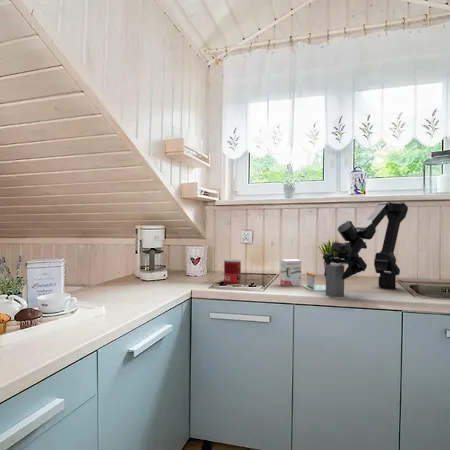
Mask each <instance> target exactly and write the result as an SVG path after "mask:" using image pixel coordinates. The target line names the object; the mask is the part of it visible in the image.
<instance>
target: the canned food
mask: <svg viewBox="0 0 450 450" xmlns="http://www.w3.org/2000/svg"><path fill="white" fill-rule="evenodd" d="M223 262H224V263H223V265H224V266H223V268H224V269H223V271H224V273H223V275H224V276H223V279H224V283H225V284H230V285H237V284H240V283H241V281H242V279H241V275H242V272H241V271H242V269H241V268H242V267H241V265H242V262H241V259H236V258H235V259H232V258H231V259H224V261H223Z"/></svg>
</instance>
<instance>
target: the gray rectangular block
mask: <svg viewBox="0 0 450 450" xmlns="http://www.w3.org/2000/svg"><path fill="white" fill-rule="evenodd" d="M325 268H326V277H325V285H326V291H325V296H331V297H333V298H336V297H343V296H345V279H344V280H343V279H342V276H343V274H344V272H345V265H344V264H342V265H341V263H330V265H326V264H325Z"/></svg>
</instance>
